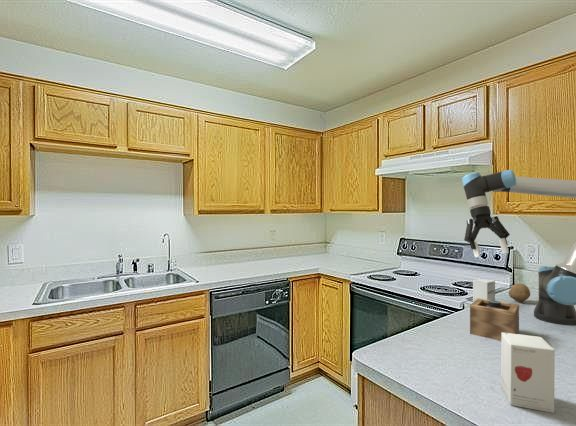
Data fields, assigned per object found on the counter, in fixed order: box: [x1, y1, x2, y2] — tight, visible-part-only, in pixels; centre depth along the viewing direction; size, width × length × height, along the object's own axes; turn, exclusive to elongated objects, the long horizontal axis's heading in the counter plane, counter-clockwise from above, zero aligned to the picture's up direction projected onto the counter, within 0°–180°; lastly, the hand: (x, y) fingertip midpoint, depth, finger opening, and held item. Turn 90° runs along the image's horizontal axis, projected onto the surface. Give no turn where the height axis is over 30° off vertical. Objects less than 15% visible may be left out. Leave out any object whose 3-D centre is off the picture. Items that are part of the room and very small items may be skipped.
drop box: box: [469, 298, 520, 342], centre depth 125 cm, size 14×14×11 cm
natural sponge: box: [508, 282, 531, 303], centre depth 168 cm, size 9×9×10 cm
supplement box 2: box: [500, 332, 556, 414], centre depth 80 cm, size 9×9×15 cm
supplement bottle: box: [486, 299, 503, 309], centre depth 125 cm, size 6×6×11 cm
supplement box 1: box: [472, 278, 496, 303], centre depth 163 cm, size 7×7×13 cm
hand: (491, 255), depth 138 cm, fingers open, 13 cm apart
